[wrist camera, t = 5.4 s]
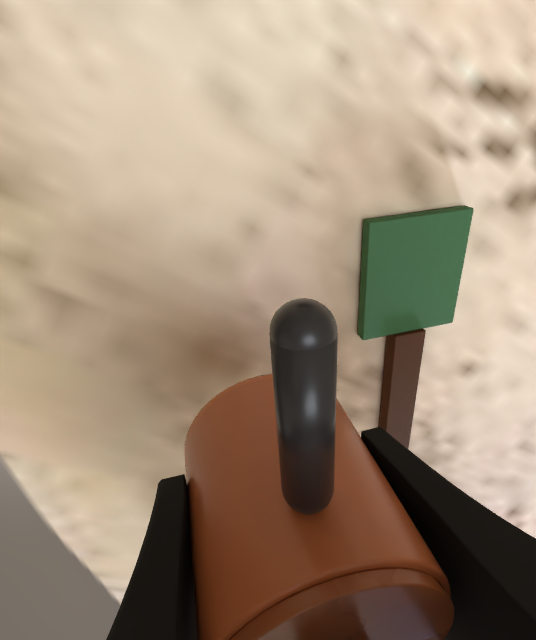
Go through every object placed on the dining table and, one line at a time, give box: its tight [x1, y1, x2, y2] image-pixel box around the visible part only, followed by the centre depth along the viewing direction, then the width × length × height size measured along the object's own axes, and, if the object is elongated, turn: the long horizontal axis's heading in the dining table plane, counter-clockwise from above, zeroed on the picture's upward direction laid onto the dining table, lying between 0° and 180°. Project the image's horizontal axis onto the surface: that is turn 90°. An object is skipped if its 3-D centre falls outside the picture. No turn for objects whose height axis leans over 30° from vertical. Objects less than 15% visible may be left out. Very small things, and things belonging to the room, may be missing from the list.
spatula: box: [358, 205, 473, 449], centre depth 20 cm, size 14×5×1 cm, turn 4°
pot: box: [185, 298, 454, 640], centre depth 8 cm, size 10×5×7 cm, turn 4°
